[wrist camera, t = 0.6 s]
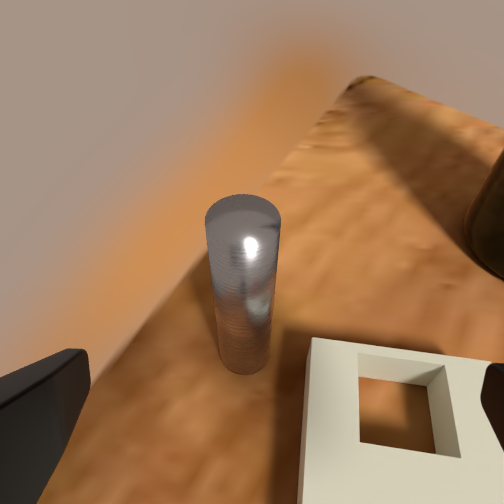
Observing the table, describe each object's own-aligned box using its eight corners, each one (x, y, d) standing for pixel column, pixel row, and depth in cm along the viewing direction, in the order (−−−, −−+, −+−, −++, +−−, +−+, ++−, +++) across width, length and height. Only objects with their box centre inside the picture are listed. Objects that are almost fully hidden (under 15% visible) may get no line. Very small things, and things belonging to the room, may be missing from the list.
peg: (266, 378, 25) (276, 252, 16) (215, 371, 25) (196, 242, 16) (272, 332, 27) (284, 198, 18) (225, 326, 27) (213, 190, 18)
